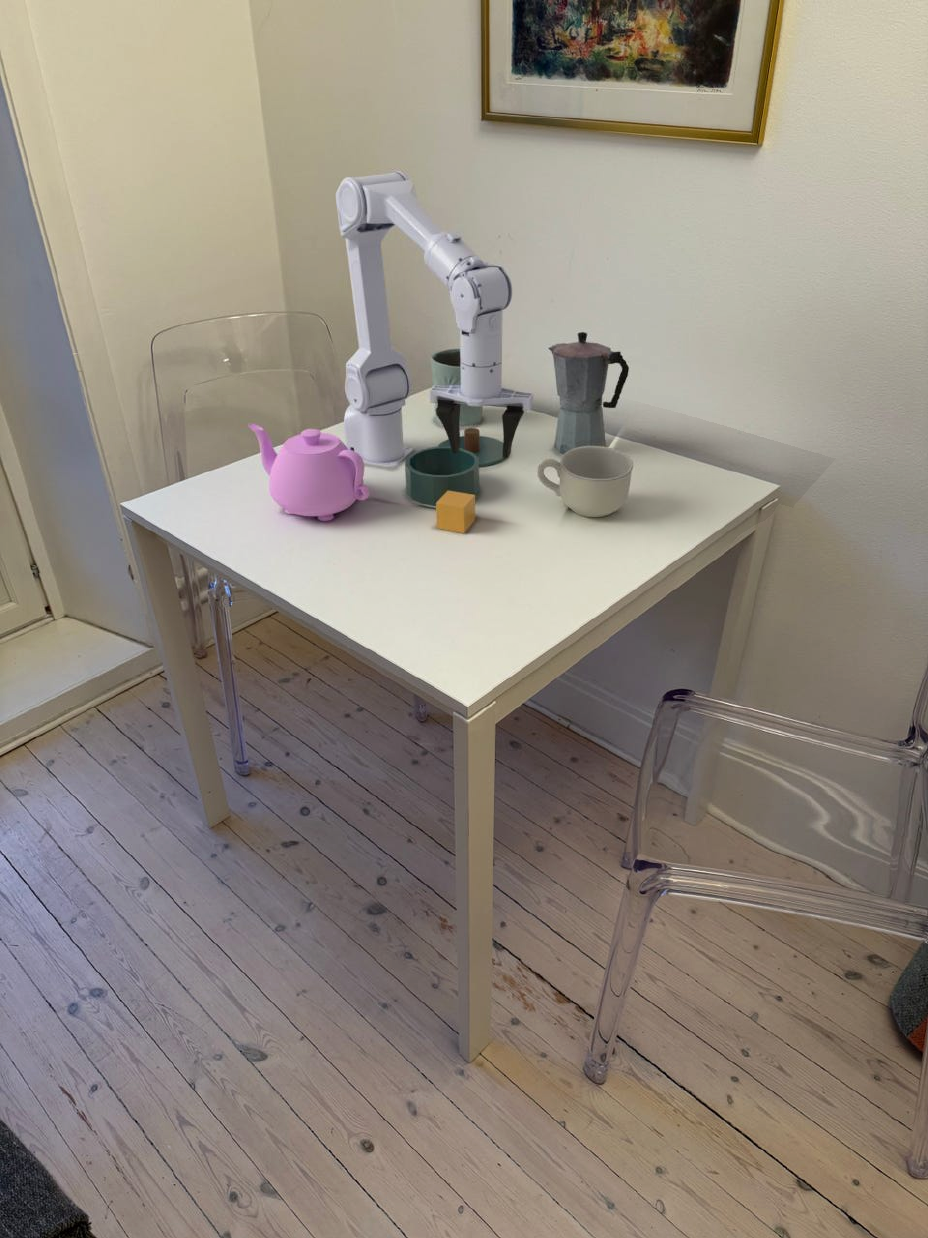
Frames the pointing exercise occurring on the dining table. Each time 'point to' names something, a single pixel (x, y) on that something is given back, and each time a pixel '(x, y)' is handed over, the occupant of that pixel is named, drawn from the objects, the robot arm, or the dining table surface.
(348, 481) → the teapot
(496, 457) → the lid
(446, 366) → the green embossed cup
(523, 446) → the dining table surface
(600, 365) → the moka pot
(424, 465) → the pot
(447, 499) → the block
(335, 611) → the dining table surface
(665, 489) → the dining table surface
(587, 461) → the teacup
